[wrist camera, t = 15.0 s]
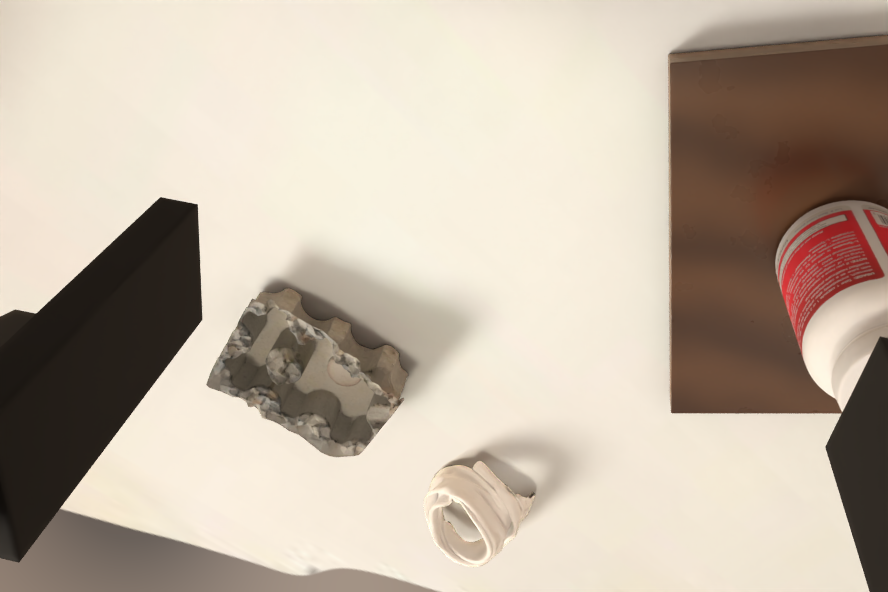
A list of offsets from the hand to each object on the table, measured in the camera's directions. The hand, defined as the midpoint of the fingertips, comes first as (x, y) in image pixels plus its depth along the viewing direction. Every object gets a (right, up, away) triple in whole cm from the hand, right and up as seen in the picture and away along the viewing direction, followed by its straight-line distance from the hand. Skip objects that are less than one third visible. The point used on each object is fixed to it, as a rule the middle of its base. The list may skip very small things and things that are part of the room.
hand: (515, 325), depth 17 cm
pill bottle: (+18, +3, +25) cm, 31 cm away
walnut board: (+18, +3, +26) cm, 32 cm away
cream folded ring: (+1, -13, +40) cm, 42 cm away
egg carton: (-9, -3, +36) cm, 37 cm away
